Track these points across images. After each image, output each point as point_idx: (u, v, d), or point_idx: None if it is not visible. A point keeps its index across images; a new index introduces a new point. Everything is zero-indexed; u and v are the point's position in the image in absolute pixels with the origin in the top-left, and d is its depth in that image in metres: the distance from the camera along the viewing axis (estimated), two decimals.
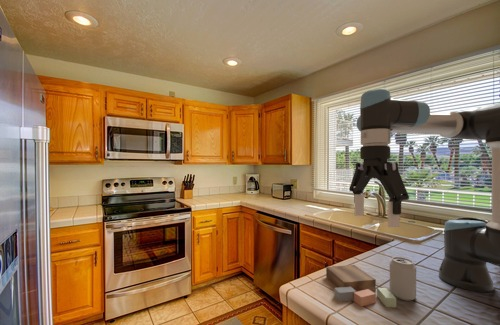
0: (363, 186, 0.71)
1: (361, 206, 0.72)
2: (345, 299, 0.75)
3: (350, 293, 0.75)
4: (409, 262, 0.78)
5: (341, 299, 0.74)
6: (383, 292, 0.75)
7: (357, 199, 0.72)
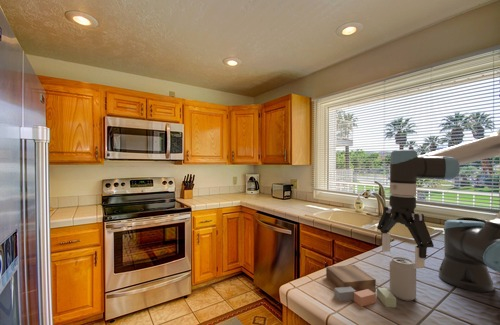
0: (390, 227, 0.84)
1: (388, 243, 0.85)
2: (345, 299, 0.75)
3: (350, 293, 0.75)
4: (409, 262, 0.78)
5: (341, 299, 0.74)
6: (383, 292, 0.75)
7: (384, 237, 0.84)
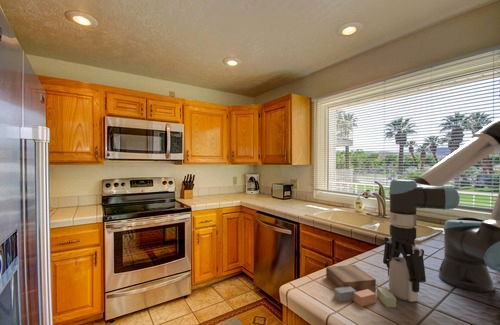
0: None
1: None
2: (345, 300, 0.75)
3: (350, 293, 0.75)
4: None
5: (341, 299, 0.74)
6: (383, 292, 0.75)
7: None
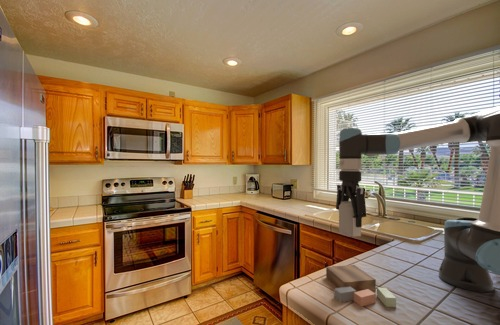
0: None
1: None
2: (345, 300, 0.75)
3: (351, 293, 0.75)
4: None
5: (342, 299, 0.74)
6: (383, 292, 0.75)
7: None
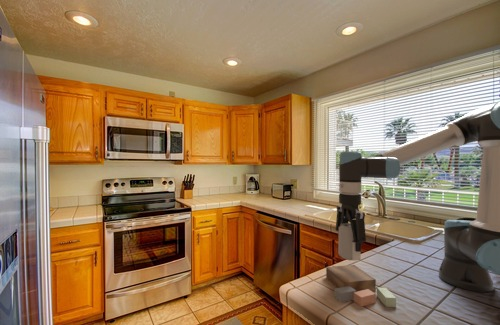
0: None
1: None
2: (346, 300, 0.75)
3: (351, 293, 0.75)
4: None
5: (342, 299, 0.74)
6: (383, 292, 0.75)
7: None
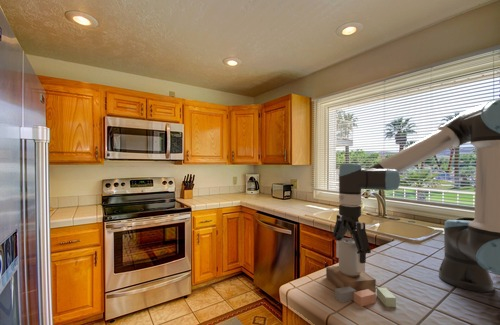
0: (342, 234, 0.91)
1: None
2: (346, 300, 0.75)
3: (351, 293, 0.75)
4: None
5: (342, 300, 0.74)
6: (383, 292, 0.75)
7: (338, 244, 0.91)
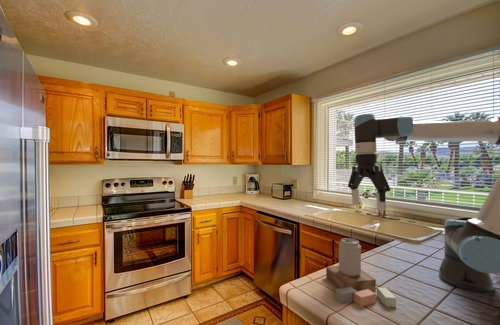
0: (358, 183, 0.97)
1: (357, 198, 0.98)
2: (347, 300, 0.74)
3: (352, 294, 0.75)
4: (355, 242, 0.85)
5: (343, 300, 0.74)
6: (383, 292, 0.75)
7: (354, 193, 0.98)
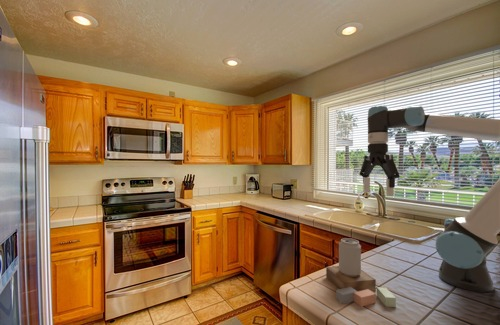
0: (369, 171, 1.04)
1: (368, 185, 1.05)
2: (347, 301, 0.74)
3: (352, 294, 0.75)
4: (355, 242, 0.85)
5: (344, 301, 0.73)
6: (383, 292, 0.75)
7: (365, 180, 1.04)
